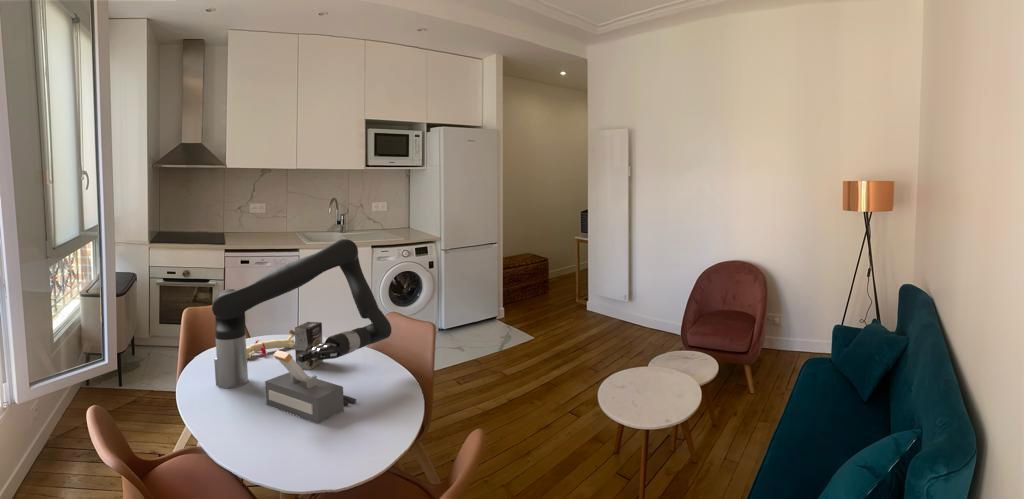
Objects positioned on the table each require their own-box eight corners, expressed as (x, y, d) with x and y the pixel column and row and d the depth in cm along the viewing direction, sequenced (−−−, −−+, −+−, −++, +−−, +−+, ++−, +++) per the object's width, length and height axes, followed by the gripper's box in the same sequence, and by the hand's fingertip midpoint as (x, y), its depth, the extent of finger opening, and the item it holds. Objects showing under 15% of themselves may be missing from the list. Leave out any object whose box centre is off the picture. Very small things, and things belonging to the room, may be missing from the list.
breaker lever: (300, 376, 166) (276, 349, 158) (313, 380, 164) (289, 353, 155) (296, 381, 165) (272, 355, 157) (309, 385, 162) (285, 358, 154)
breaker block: (308, 387, 181) (307, 357, 179) (358, 403, 169) (357, 371, 168) (265, 405, 167) (263, 372, 165) (316, 424, 155) (315, 389, 153)
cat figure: (289, 346, 226) (228, 356, 208) (290, 326, 226) (228, 334, 207) (300, 352, 220) (237, 362, 201) (301, 331, 219) (238, 340, 201)
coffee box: (310, 370, 197) (309, 328, 194) (295, 368, 198) (293, 327, 196) (323, 361, 206) (322, 322, 203) (309, 360, 207) (307, 320, 205)
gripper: (329, 329, 180) (285, 343, 165) (356, 336, 173) (313, 351, 158) (329, 350, 181) (286, 366, 166) (357, 358, 174) (314, 374, 159)
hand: (300, 359), depth 162 cm, fingers closed
